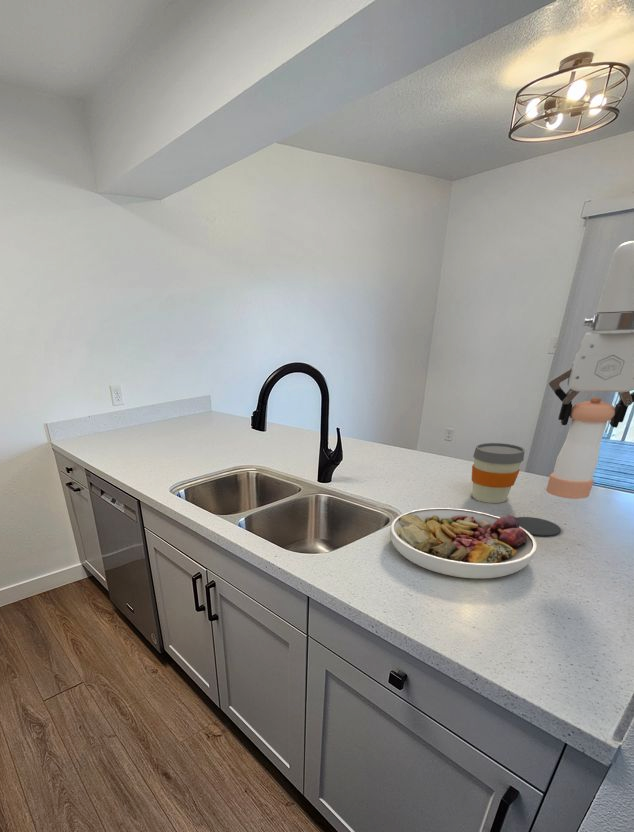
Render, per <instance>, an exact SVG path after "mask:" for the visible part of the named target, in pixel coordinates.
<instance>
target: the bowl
mask: <svg viewBox="0 0 634 832" xmlns="http://www.w3.org/2000/svg"><path fill="white" fill-rule="evenodd" d="M516 518H517V517H516V516H514V515H509V514H508V515H504V516H496V515H493V514H489V513H486V512H481V511H476V510H470V509H464V508H454V507H453V508H451V507H430V508H429V507H427V508H420V509H415V510H414V509H413V510H411V511H407V512H404V513H402V514H400V515H398V516H396V517H395V518H394V520H393V521H392V522H391V524H390V529H389V532H390V533H389V534H390V541H391V542H392V545H393V546H394V548H395V549H396V550H397V552H399V553H400V555H401V556H403V557H404V558H405V559H407V560H408V561H409V562H411V563H413V564H415V565H416V566H419V567H422V568H424V569H426V570H429V571H431V572H435V573H437V574H442V575H445V576H450V577H457V578H462V579H463V578H465V579H479V580H480V579H495V578H501V577H505V576H509V575H512V574H514V573H517V572H519V571H522V569H524V568H525V567H526V566H528V565H529V564H530V563H531V562H532V560H534V557H535V555H536V553H537V548H538V543H537V540H536V539H535V538H534V535H531V534H530V533H529V532H528V531H526V530H525V529H523V528H522V527H520V526H519V522H518V520H517V519H516Z"/></svg>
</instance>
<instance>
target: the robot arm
mask: <svg viewBox="0 0 634 832" xmlns="http://www.w3.org/2000/svg"><path fill="white" fill-rule="evenodd" d="M582 327H589V328H590V332H586V333H585V334H584V336H583V338H582V340H581V342H580V344H579V346H578V349H577V351H576V354H575V356H574V359H573V362H572V366H571V367H570V368H568V369H567V370H565V371H563V372H561V373H560V374H558V375H557V376H555V377H553V378H552V379H549V381H548V385H549V387H550V388H551V390H552V391H553V393H554V394H555V395H556V397H557V398H558V399H559V401H561V402H562V404H561V407H560V411H559V414H558V419H557V420H558V421H560V423H561V425H562V426H566V425H568V422H569V419H570V413H571V409H572V407H573V404H572V402H573V400H574V399H575V398H576V397H577V395H579V393H581V392H584V393H585V392H587V393H589V392H590V393H593V392H594V393H617V394H618V397H619V401H618V402H617V403H616V404H615V406H614V409H615V416H614V417H613V418H612V419H611V420H609V425H610V426H611V427H612V428H618V426H619V424H620V423H623V421H624V420H625V418H626V414H627V411H628V408H629V406H631V405H632V404H633V403H634V240H630V241H627V242H624V243H621V244H620V245H618V246H617V247H616V248H615V250H614V252H613V254H612V256H611V259H610V263H609V267H608V269H607V274H606V276H605V280H604V283H603V287H602V291H601V294H600V298H599V301H598V304H597V308H596V312H595V313H594V315H592V316H590V317H584V320H583V322H582ZM566 380H567V386H568V388H569V389H568V390H567V392H565V391H564V390H563V389H562V387H561V386H560V384H561V383H562V382H564V381H566ZM632 391H633V392H632Z"/></svg>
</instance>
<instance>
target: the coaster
mask: <svg viewBox="0 0 634 832" xmlns="http://www.w3.org/2000/svg"><path fill="white" fill-rule="evenodd" d="M516 519H517V520H518V522H519V526H520V527H522V528H523V529H525V530H526V531H528V532H529V533H530V534H531V535H532V536H533V537H534V536H535V537H553V536H557V535H559V534H560V533H561V527H560V526H559V525H558V524H556V523H554V522H552V521H549V520H546V519H543V518H539V517H530V516H517V517H516Z"/></svg>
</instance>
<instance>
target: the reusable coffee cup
mask: <svg viewBox="0 0 634 832" xmlns="http://www.w3.org/2000/svg"><path fill="white" fill-rule="evenodd" d="M525 451H526V450H525V448H523V447H522V446H519V445H516V444H510V443H502V442H485V443H479V444H477V445H476V446H475V449H474V452H473V458H474V459H473V464H472V465H471V482H472V492H471V497H472V498H473V499H474V500H476V501H479V502H483V503H489V504H499V503H504V502H506V501H507V498H508V496H509V493H510V491H511V489H512V487H513V486H514V485H515V483H516V480H517V478H518V475H519V473H520V471H521V468H520V466H521V464H522V462H523V461H524V459H525Z"/></svg>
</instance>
